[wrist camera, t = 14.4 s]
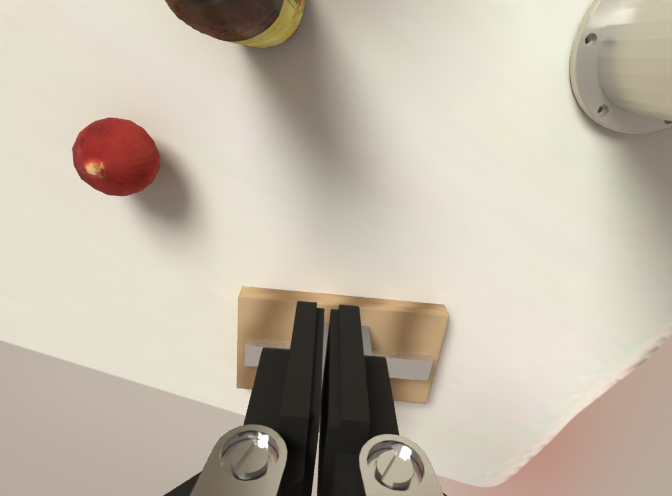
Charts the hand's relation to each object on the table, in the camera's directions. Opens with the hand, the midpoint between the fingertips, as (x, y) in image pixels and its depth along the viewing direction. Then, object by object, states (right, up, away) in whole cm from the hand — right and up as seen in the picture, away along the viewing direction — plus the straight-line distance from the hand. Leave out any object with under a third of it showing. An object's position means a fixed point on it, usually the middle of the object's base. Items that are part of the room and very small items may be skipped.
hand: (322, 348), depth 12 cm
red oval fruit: (-16, +11, +25) cm, 32 cm away
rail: (+1, -8, +31) cm, 32 cm away
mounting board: (+1, -7, +33) cm, 34 cm away
